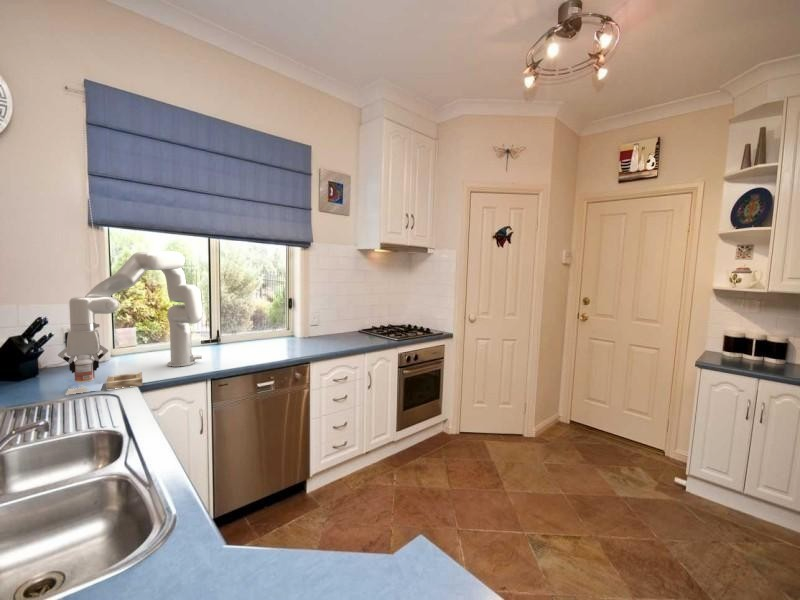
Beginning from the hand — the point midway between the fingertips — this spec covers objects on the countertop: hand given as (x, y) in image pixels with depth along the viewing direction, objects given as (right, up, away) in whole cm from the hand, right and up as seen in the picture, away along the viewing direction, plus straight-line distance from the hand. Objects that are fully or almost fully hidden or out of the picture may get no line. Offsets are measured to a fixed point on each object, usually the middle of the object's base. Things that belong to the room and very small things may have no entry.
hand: (84, 370), depth 148 cm
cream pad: (0, -8, +1) cm, 8 cm away
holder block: (+10, -8, +8) cm, 15 cm away
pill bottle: (0, -4, 0) cm, 4 cm away
